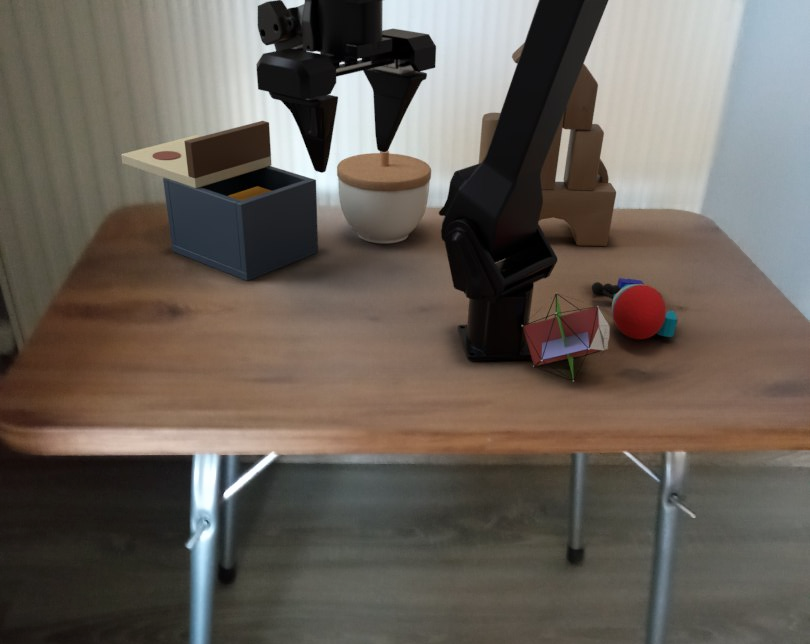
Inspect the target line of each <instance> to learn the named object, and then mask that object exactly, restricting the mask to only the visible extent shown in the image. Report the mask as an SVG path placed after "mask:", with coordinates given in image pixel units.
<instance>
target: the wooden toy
mask: <svg viewBox="0 0 810 644" xmlns="http://www.w3.org/2000/svg"><path fill="white" fill-rule="evenodd" d="M524 43H525V41H524V42H523V43H522V44H521V45H520V46H519V47H518V48H517V49H516V50H515V51H514V52H513V53H512V55H511V58H512V60H513V62H514V63H515V64H517V63H518V60H519V57H520V54H521V51H522V49H523V46H524ZM598 89H599V82H598V81H597V80H596V79H595V77H594V75H593V74H592V73H591V70H589V68H588V67H587V65H586V64H585V62H584V63H583V66H582V69H581V71H580V74H579V76H578V79H577V81H576V84H575V86H574V89H573V91H572V94H571V96H570V99H569V101H568V104H567V106H566V109H565V111H564V114H563V116H562V119H561V122H560V124H559V127H558V129H557V132H556V134H555V137H554V139H553V142H552V144H551V147H550V149H549V152H548V154H547V157H546V159H545V162H544V164H543V167H542V170H541V176H540V177H541V186H542V195H543V205H542V209H541V214H540V218H539V222H540V221H541V220H548V219H558V220H562V221H564V222H565V223H567V224H568V228H569V230H570V232H571V236H572V238H573V240H574V241H575V244H576V246H582V247H583V246H585V247H586V246H587V247H588V246H589V247H590V246H591V247H606V246H607V245H608V241H609V235H610V231H611V226H612V219H613V213H614V208H615V204H616V197H617V191H616V189H615V187H614V185H613V184H612V183H611V182H609V174H608V170H607V168H606V166H605V164H604V162H603V160H602V158H601V156H602V155H601V154H602V148H603V143H604V137H605V131H604V129H603V128H602V127H601V125H600V124H598V123H594V115H595V108H596V102H597V96H598ZM500 113H501V112H488V113H485V114H483V116H482V118H481V129H480V141H479V154H478V164H479V163H482V161H483V160H484V158H485V156H486V154H487V151H488V148H489V145H490V142H491V139H492V136H493V133H494V130H495V128H496V125H497V122H498V119H499V116H500ZM563 130H569V137H568V145H567V152H566V158H565V165H564V173H563V181H556V179H557V171H558V165H559V156H560V150H561V141H562V134H563Z"/></svg>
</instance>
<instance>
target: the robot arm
mask: <svg viewBox="0 0 810 644" xmlns="http://www.w3.org/2000/svg"><path fill="white" fill-rule="evenodd" d="M383 1H384V0H304V3H303V4H301V5H298V6H293V7H289V8H287V5H286V4H285V3H284V1H283V0H270V1H265V2H263V3H261V4H258V5H257V30H258V33H259V37H260V41H261V42H262V43H263V45H265V46H273V45H274V48H275V51H270V52H264V53H262V54H261V56H260V58H259V60H257V62H256V78H257V90H259V91H263V92H268V94H269V96H270V97H271V98H272V99H273V100H275V101H276V100H277V101H280V102H282V104H283V105H284V106H285V107H286V108H287V109H288V110H289V111H290V113H291V115H292V118H293V119H294V122H295V123H296V125H297V127H298V129H299V132H300V135H301V138H302V141H303V143H304V146H305V149H306V151H307V153H308V157H309V159H310V162H311V164H312V167H313V170H314V171H315V172H317V173H322V174H323V173H326V171H327V167H328V164H329V163H328V162H329V159H330V155H331V153H330V152H331V149H332V148H331V147H332V142H333V134H334V129H335V128H334V127H335V122H336V116H337V108H338V103H339V96H336V95H332V92H333V91H334V88H335V87H336V84H337V77H340V76H345V75H349V74H353V73H358V72H363V73H364V75H365V77H366V80H367V81H368V83H369V84H370V86H371V89H372V92H373V113H374V133H375V141H376V143H375V144H376V149H377V151H378V152H380V151H381V152H387V151H389V150H390V147H391V145H392V143H393V141H394V138H395V136H396V134H397V132H398V130H399V127H400V125H401V123H402V121H403V119H404V117H405V114H406V112H407V110H408V108H409V107H410V104H411V103H412V101H413V99H414V97H415V95H416V93H417V91H418V89H419V87H420V86H421V84H422V82H423V81H426V80H427V78H428V73H427V72H424V71H428V70H431V69H435V68H436V62H437V61H436V60H437V59H436V57H437V45H436V44H435V42H434V41H433V38H432V37H431V36H430V34H429V33H424V32H418V31H417V32H416V31H411V30H404V29H399V28H389V29H383V10H384V9H383V8H384V7H383V4H384V3H383ZM608 3H609V0H538V2H537V5H536V8H535V10H534V14H533V16H532V20H531V23H530V25H529V28H528V31H527V34H526V37H525V40H524V42H525V43H524V42H523V43H524V46H523V49H522V51H521V54H520V57H519V60H518V63H516V66H515V69H514V71H513V75H512V78H511V81H510V84H509V86H508V90H507V92H506V96H505V99H504V101H503V104H502V107H501V111H500V112H499V113H500V116H499V119H498V122H497V125H496V128H495V130H494V133H493V136H492V139H491V142H490V145H489V148H488V151H487V154H486V156H485V158H484V160H483V161H482V163H479V162H478V163H477V164H474V165H470V166H467V167H464V168H461V169H458V170H456V171H454V173H453V174H452V177H451V179H450V182H449V185H448V194H447V197H446V200H445V203H444V205H443V206H442V208H441V209H440V210H439V211H438V215H439V216H440V217H443V220H442V222H441V229H440V232H441V234H440V235H441V236H440V237H441V240H442V241H443V242H444V244H445V245H444V246H445V251H446V255H447V260H448V265H449V270H450V275H451V281H452V285H453V288H454V290H457V291H460V292H462V293H463V294H464V295H465V297H466V298H467V299H468V309H467V321H466V322H467V323H466V324H460V325H458V326H457V330H456V331H457V334H458V337H459V341H460V343H461V346H462V348H463V351H464V354H465V356H466V359H467V360H468V361H509V360H510V361H511V360H514V361H515V360H532V358H531V355H530V351H529V347H528V344H527V340H526V337H525V333H524V330H523V327H522V325H525V324H528V323H530V319H531V317H530V316H531V310H532V302H533V293H534V286H535V284H534V283H537V282H538V281H541V280H543V279H547V278H549V277H550V276H551V275H552V273H553V270H554V269H555V266H556V265H557V262H558V256H557V254H556V253H555V251H554V249H553V247H552V245H551V244H550V242H549V240H548V239H547V237H546V235H545V233H544V231H543V229H542V228H541V226H540V224H539V222H540V221H539V218H540V214H541V209H542V205H543V195H542V186H541V177H540V176H541V170H542V167H543V164H544V162H545V159H546V157H547V154H548V152H549V149H550V147H551V144H552V142H553V139H554V137H555V134H556V132H557V129H558V127H559V124H560V122H561V119H562V116H563V114H564V111H565V109H566V106H567V104H568V101H569V99H570V96H571V94H572V91H573V89H574V86H575V84H576V81H577V79H578V76H579V74H580V71H581V69H582V66H583V63H584V64H585V61H586V58H587V56H588V53H589V50H590V49H591V46H592V43H593V41H594V38H595V35H596V33H597V31H598V28H599V25H600V23H601V21H602V18H603V16H604V13H605V11H606V8H607V6H608Z"/></svg>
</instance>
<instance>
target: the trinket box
mask: <svg viewBox="0 0 810 644" xmlns="http://www.w3.org/2000/svg"><path fill="white" fill-rule="evenodd" d="M336 176H337V182H338V184H337V185H338V187H337V189H338V198H339V203H340V208H341V211H342V214H343V216H344V218H345V221H346V222H347V224H348V225H349V226H350V228H352V229H353V230H354V232H355V233H356V234H357V237H358V238H359V239H361V240H363V241H366V242H369V243H373V244H381V245H382V244H383V245H384V244H387V245H388V244H395V243H400V242H403V241H405V240H407V239H408V238H409V234H411V233H412V232H413V231H415V229H416V228H417V227H418V226H419V224H420V223H421V221H422V220H423V218H424V215H425V213H426V210H427V205H428V202H429V195H430V186H431V185H430V183H431V181H430V180H431V178H432V167H431V166H430V164H428V163H427V162H426V161H423V160H422V159H419V158H416V157H413V156H410V155H405V154H400V153H390V151H389V150H388V151H387V152H381V151H379V152H373V153H370V152H369V153H361V154H356V155H351V156H348V157H346V158H344V159H342V160H340V161H339V162H338V164H337V166H336Z"/></svg>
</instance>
